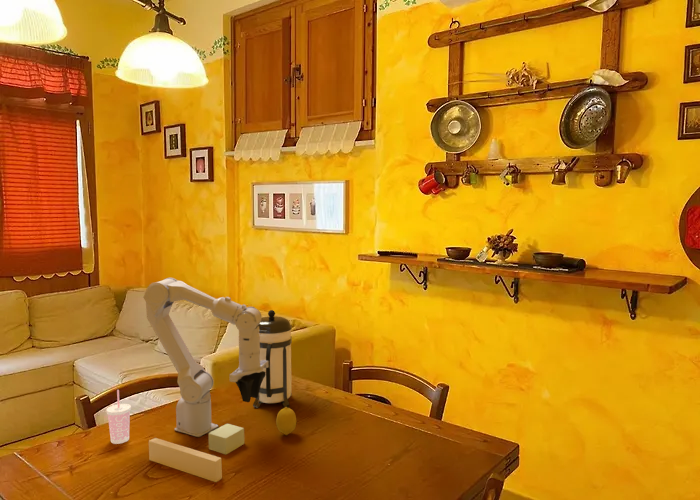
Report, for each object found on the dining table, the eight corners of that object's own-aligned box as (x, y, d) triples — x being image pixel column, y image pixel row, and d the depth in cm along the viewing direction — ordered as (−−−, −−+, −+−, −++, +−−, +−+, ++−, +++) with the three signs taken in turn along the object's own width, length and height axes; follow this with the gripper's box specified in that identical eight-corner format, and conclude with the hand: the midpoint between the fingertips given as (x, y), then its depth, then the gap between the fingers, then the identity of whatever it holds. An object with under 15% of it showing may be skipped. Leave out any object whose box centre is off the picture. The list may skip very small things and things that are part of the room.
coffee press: (237, 401, 171) (235, 310, 168) (278, 389, 182) (277, 303, 179) (268, 418, 159) (266, 319, 156) (310, 404, 169) (309, 311, 166)
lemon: (299, 432, 149) (299, 404, 148) (291, 440, 144) (290, 412, 143) (281, 429, 151) (281, 402, 150) (272, 437, 146) (272, 409, 145)
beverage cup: (105, 446, 141) (102, 394, 139) (110, 436, 147) (108, 386, 145) (129, 443, 142) (127, 393, 141) (134, 434, 148) (132, 385, 147)
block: (208, 449, 139) (208, 433, 139) (227, 439, 145) (227, 423, 145) (225, 455, 136) (225, 438, 136) (244, 444, 142) (244, 428, 142)
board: (149, 460, 133) (148, 440, 133) (155, 456, 135) (155, 437, 135) (215, 482, 123) (215, 461, 122) (221, 478, 125) (221, 457, 124)
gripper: (243, 361, 139) (244, 411, 140) (276, 347, 152) (277, 393, 153) (223, 357, 142) (224, 406, 144) (257, 344, 155) (257, 389, 156)
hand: (250, 399), depth 149 cm, fingers open, 3 cm apart
